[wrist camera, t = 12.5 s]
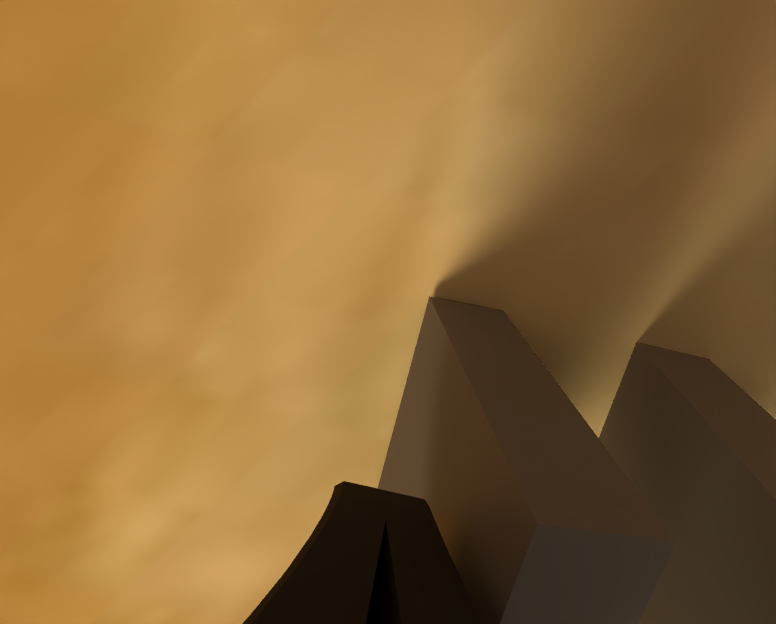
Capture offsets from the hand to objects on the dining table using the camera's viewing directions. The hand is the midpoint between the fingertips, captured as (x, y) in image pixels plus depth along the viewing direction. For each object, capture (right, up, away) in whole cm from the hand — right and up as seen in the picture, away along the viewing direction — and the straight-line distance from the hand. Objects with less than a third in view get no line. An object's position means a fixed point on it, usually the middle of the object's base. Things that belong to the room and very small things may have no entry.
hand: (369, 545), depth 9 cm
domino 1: (+1, +1, +5) cm, 5 cm away
